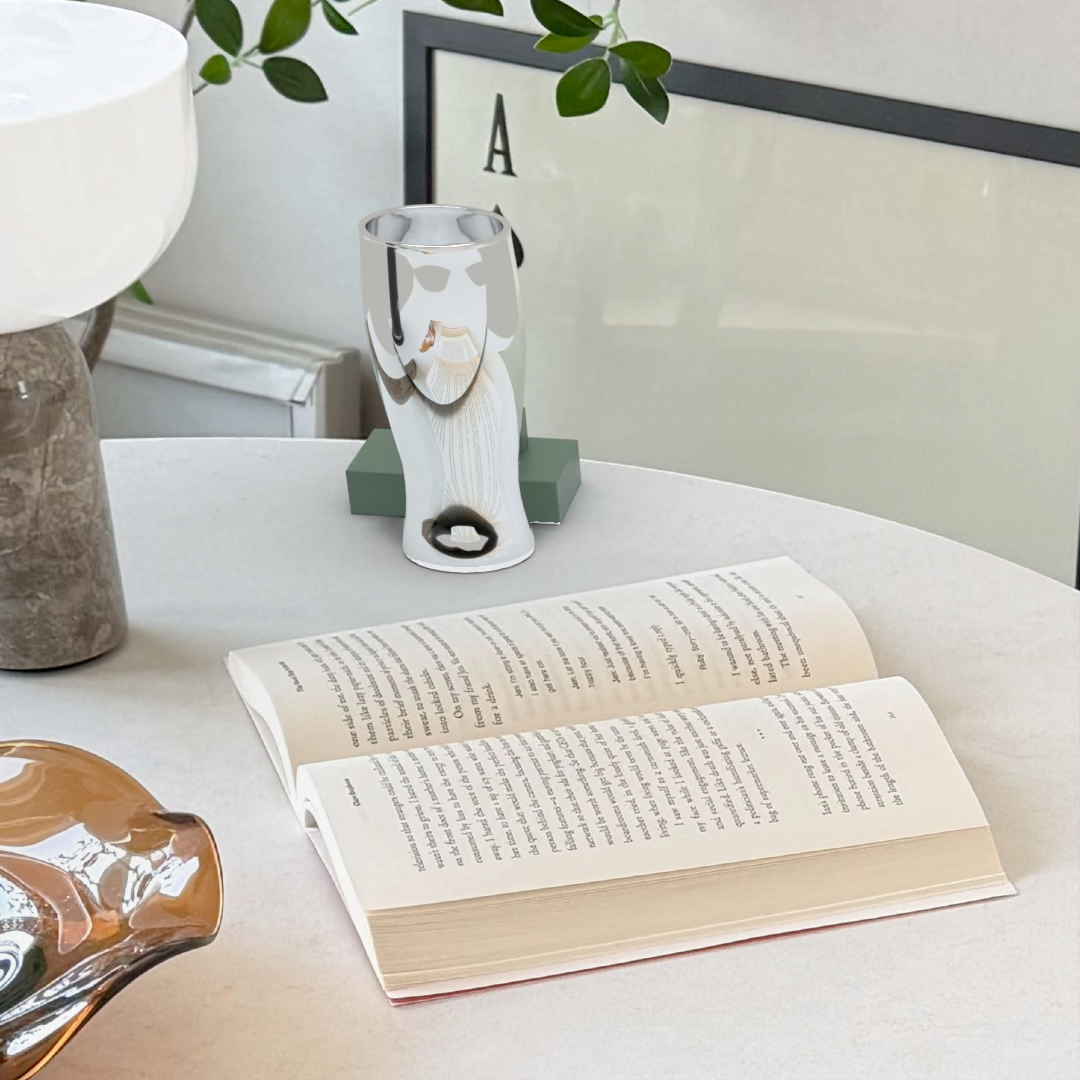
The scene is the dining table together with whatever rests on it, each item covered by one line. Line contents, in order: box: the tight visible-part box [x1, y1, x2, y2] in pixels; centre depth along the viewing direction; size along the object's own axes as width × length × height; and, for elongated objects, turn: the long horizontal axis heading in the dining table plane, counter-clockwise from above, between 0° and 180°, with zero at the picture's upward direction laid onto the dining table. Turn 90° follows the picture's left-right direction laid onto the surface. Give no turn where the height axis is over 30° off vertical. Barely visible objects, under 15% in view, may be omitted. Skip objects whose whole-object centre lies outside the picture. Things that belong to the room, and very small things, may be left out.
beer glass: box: [357, 203, 536, 567], centre depth 128 cm, size 7×7×15 cm
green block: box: [344, 406, 582, 523], centre depth 136 cm, size 10×7×4 cm
